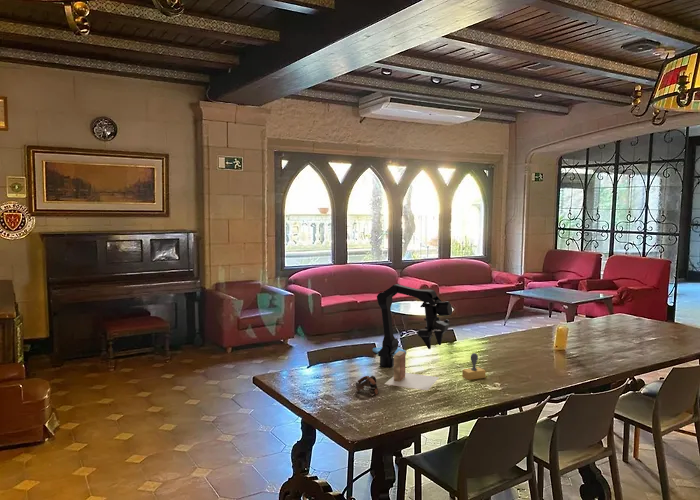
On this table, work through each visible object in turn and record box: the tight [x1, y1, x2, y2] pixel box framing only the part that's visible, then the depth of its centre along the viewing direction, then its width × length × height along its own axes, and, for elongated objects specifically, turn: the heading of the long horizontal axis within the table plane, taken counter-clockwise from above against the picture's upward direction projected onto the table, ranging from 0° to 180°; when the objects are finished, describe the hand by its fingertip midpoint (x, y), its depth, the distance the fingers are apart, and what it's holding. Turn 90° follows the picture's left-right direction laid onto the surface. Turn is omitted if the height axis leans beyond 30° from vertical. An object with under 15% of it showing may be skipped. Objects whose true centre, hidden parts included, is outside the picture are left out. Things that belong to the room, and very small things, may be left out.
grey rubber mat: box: [384, 372, 440, 391], centre depth 252 cm, size 21×20×1 cm
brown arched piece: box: [354, 375, 380, 395], centre depth 238 cm, size 12×10×8 cm
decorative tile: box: [372, 346, 407, 357], centre depth 302 cm, size 14×14×2 cm
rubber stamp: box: [461, 352, 487, 381], centre depth 258 cm, size 10×6×12 cm, turn 113°
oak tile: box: [393, 351, 407, 382], centre depth 254 cm, size 3×8×12 cm, turn 156°
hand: (434, 347), depth 259 cm, fingers open, 9 cm apart
